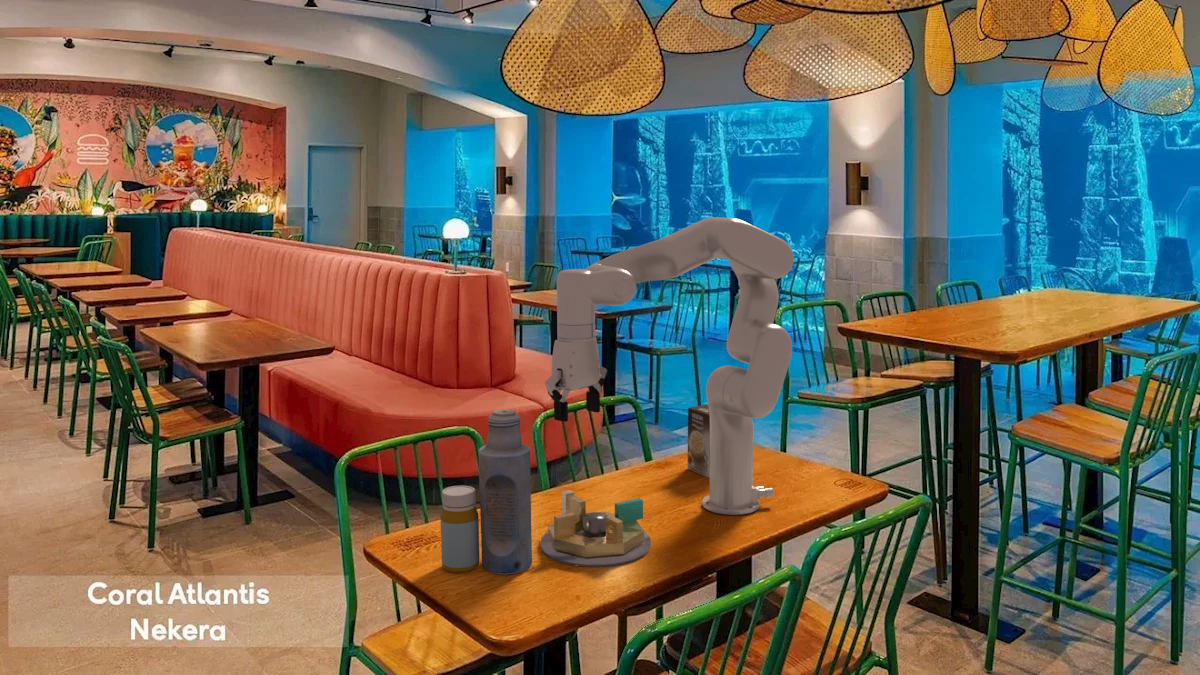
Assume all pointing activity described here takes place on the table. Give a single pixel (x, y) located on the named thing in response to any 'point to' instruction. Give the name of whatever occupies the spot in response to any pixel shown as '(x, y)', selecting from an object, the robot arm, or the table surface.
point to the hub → (592, 528)
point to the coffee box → (699, 440)
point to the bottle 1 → (459, 530)
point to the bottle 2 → (505, 496)
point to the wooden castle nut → (618, 540)
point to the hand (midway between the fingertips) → (577, 415)
